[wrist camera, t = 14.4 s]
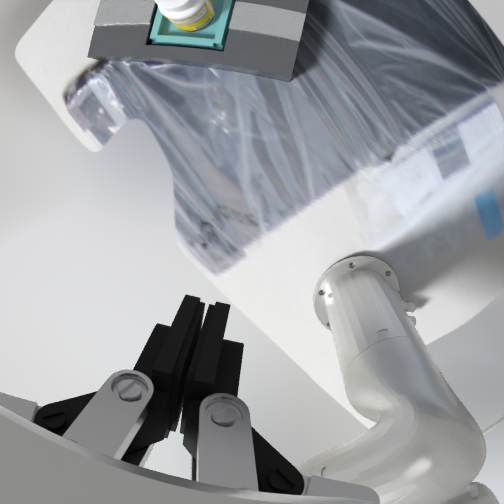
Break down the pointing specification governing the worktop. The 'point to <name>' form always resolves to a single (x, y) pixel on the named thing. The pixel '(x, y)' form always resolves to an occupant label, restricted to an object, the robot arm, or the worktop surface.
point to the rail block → (233, 58)
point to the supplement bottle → (188, 13)
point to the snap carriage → (204, 39)
